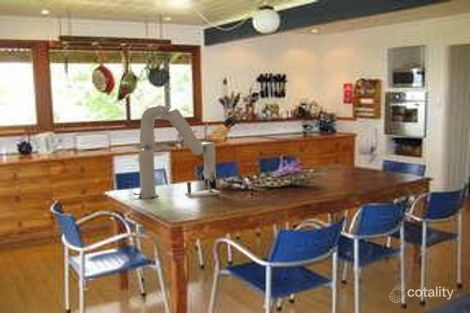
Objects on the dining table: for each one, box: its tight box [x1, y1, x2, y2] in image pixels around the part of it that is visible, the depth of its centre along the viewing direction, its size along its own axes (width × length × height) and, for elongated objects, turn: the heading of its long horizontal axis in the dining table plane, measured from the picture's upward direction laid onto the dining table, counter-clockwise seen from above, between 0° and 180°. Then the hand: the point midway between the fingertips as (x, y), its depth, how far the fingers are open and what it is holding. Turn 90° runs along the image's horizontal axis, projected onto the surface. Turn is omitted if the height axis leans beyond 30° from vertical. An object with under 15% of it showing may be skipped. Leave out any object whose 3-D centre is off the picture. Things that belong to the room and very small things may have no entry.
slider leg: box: [207, 180, 215, 191], centre depth 326 cm, size 3×3×7 cm
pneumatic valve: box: [199, 171, 218, 189], centre depth 349 cm, size 6×12×12 cm, turn 113°
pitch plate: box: [184, 181, 221, 199], centre depth 323 cm, size 20×10×9 cm, turn 116°
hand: (210, 187), depth 326 cm, fingers open, 9 cm apart
